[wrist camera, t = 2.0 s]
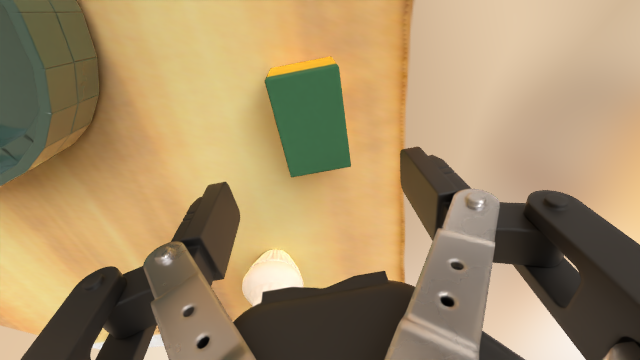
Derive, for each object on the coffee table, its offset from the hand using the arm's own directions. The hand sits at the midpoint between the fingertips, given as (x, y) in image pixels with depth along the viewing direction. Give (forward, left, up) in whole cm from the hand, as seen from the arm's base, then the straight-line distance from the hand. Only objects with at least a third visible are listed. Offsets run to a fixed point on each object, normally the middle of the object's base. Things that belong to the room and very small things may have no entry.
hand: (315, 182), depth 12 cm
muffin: (+16, -7, -11) cm, 20 cm away
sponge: (0, 0, -10) cm, 10 cm away
